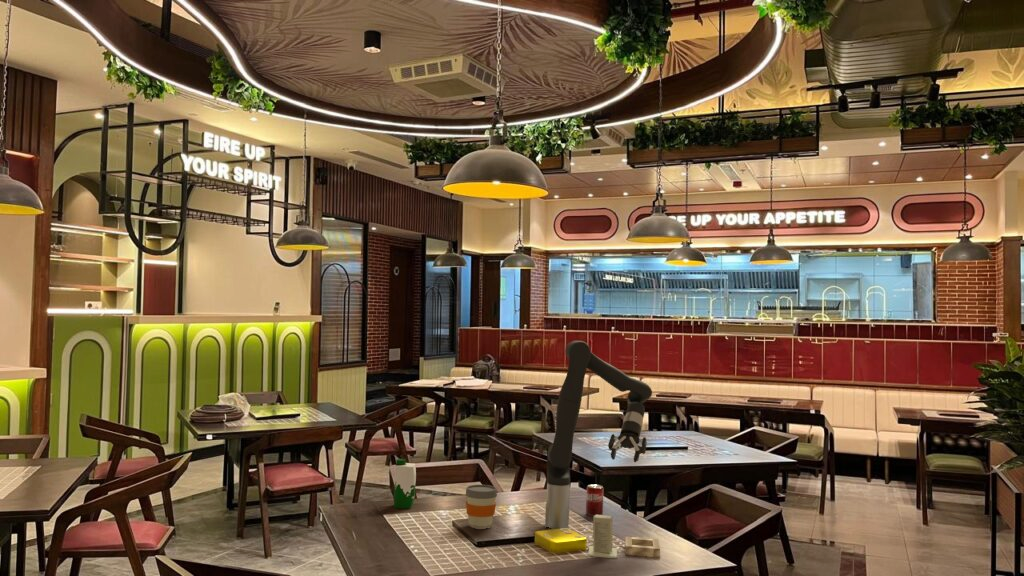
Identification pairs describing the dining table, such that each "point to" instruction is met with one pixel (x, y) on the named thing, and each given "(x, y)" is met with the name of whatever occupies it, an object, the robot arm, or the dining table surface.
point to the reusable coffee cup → (480, 504)
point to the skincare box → (602, 533)
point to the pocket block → (642, 547)
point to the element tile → (560, 540)
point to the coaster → (600, 554)
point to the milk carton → (404, 484)
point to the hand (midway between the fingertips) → (623, 459)
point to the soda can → (594, 500)
